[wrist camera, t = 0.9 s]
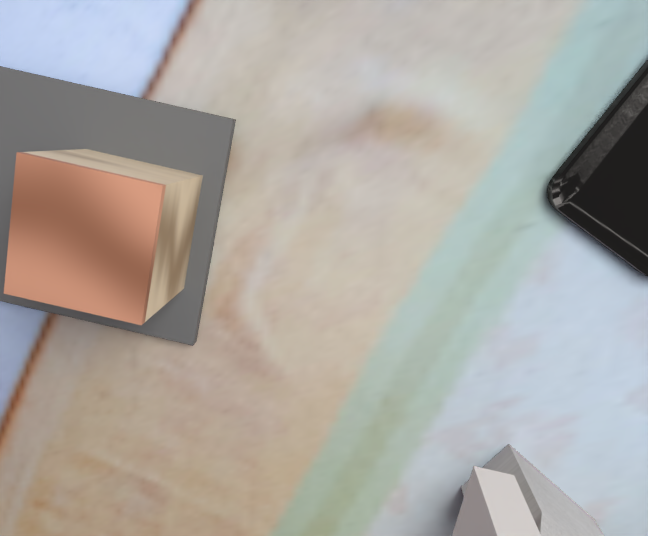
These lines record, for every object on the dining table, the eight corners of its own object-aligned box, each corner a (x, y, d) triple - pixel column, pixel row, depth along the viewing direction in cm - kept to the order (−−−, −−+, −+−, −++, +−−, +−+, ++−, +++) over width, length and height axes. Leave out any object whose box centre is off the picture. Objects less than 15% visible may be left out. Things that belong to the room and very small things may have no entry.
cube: (183, 288, 30) (141, 325, 24) (72, 262, 30) (3, 293, 24) (202, 175, 29) (162, 185, 23) (86, 148, 29) (16, 152, 23)
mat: (196, 341, 31) (193, 345, 31) (-158, 259, 32) (-168, 261, 31) (235, 119, 29) (233, 119, 28) (-153, 31, 29) (-164, 29, 28)
